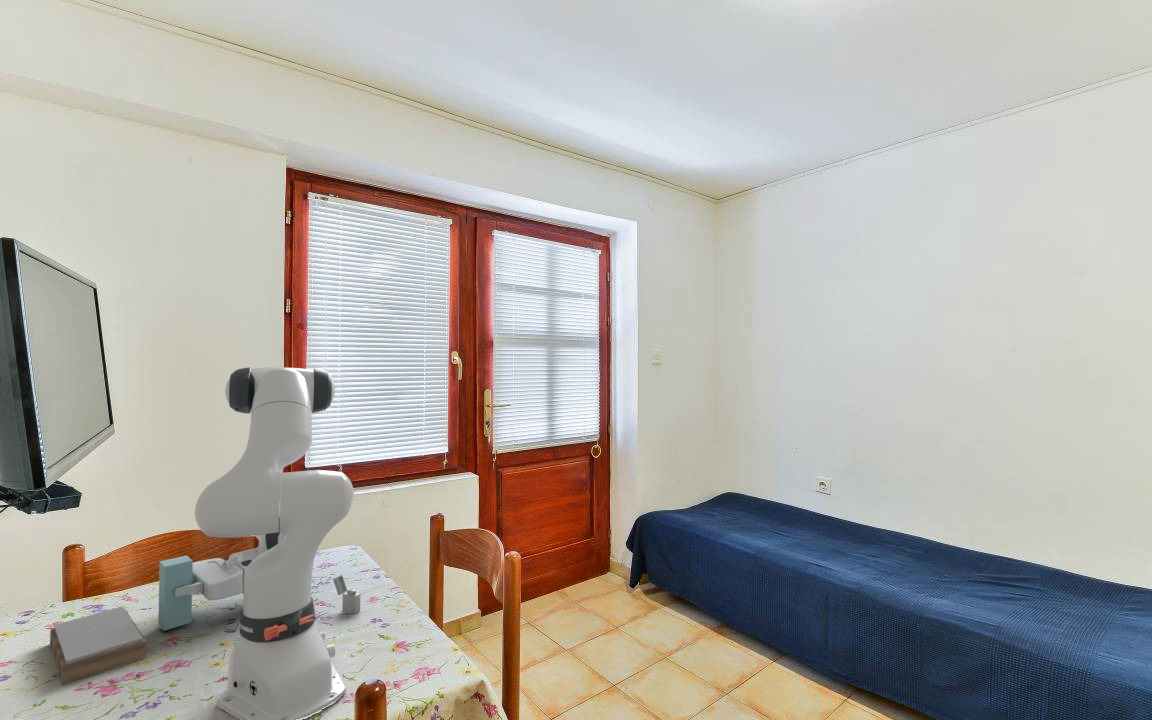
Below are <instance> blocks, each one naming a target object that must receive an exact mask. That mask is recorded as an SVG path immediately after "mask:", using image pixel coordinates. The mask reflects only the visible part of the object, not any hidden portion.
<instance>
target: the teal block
mask: <svg viewBox="0 0 1152 720" xmlns="http://www.w3.org/2000/svg"><path fill="white" fill-rule="evenodd" d="M193 561H194V560H193V559H191V558H190V557H189V556H188V555H183V556H178V557H174V558H170V559H164V560H161V561H159V569H158V570H159V571H158V572H159V574H158V575H159V576H158V577H159V578H158V579H159V580H158V618H157V619H158V623H157V624H158V626H159V627H160V628H161V629H162V630H163V632H164V631H168V630H171V629H174V628H177V627H180V626H185V625H187V624H190V623H192V611H193V607H192V606H193V600H192V599H193V594H191V595H182V596H179V597H176V596H175V595H174V588H175V587H179V586H182V585H184V586H187V585H192V568H193Z"/></svg>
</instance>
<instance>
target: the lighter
mask: <svg viewBox="0 0 1152 720" xmlns="http://www.w3.org/2000/svg"><path fill="white" fill-rule="evenodd" d="M332 582H333V584H334V586H335V590H336V593H337V595H338V596H340V595H342V605H341V606H342V609H341V610H342V613H348V614H352V615H353V614H354V615H357V614H359V612H361V593H360V592H357V589H356V588H348V589H347V585H346V582H345V579H344V576H343V575H338V576H336V577H334V578H333V580H332Z"/></svg>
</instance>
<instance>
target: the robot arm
mask: <svg viewBox="0 0 1152 720" xmlns="http://www.w3.org/2000/svg"><path fill="white" fill-rule="evenodd" d="M224 390H225V391H224V393H225V397H226V401H227V403H228V405H229V408H231V410H233V411H234V412H236V413H241V414H248V415H249V414H250V427H249V433H248V439H247V440H248V441H247V443H246V446H245V447H246V448H245V450H244V453H243V454H242V456H241V458H240V459H239V460H238V462H236V464H234V466H233V467H232V468H231V469H229V471H228V472H227V473H225V474H223V475H222V476H220V477H219V478H217V479H216V480H214V481H212V482H210V483H209V484H208V485H207V486H206V487H205V488H204V489H203V490H202V492H201V493H200V495H199V496H198V498H197V500H196V502H195V508H194V518H195V522H196V523H197V524H196V525H197V526H198V528H199V529H200V530H201V532H202V533H204V535H206V536H208V537H212V538H244V537H253V536H254V537H255V538H257V540H258V546H257V547H254V548H252V549H251V548H250V549H247V550H246V549H245V550H242V551H239V552H235V553H231V554H230V555H229V557H228V559H227V560H225V559H223V558H220V557H215V558H209V559H208V558H207V559H204V560H199V561H195V562H193V568H192V585H187V586H184V585H182V586H179V587H175V588H174V595H175V596H176V597H179V596H182V595H191V594H192V595H197V594H201V595H202V596H203V597H204V598H205V599H206V600H207V601H218V600H223V599H226V598H230V597H234V596H238V595H241V594H243V598H242V603H243V604H242V609H241V612H240V615H239V616H240V617H239V620H238V626H239V635H240V637H239V639H238V641H237V642H236V644H235V645H234V646H233V647H232V649H231V651H230V653H229V659H228V670H227V683H226V689H225V691H223V693H221V694H220V695H219V696H218V697H217V698H216V707H218V708H219V709H221V710H223V711H225V712H226V713H227V714H230V715H231V716H233V717H234V718H235V719H238V718H239V719H241V720H296V719H300V718H303V717H306V716H309V715H311V714H313V713H315V712H317V711H319V710H321V709H322V708H324V707H326V706H328V705H329V704H331V703H332V702H335V701H336V700H337V699H338V698H340V697H341V696H342V695H343V694H344V693H345V692H346V693H347V690H346V689H347V688H346V686H345V683H344V682H343V681H344V680H343V679H342V678H341V676H340V674H339V672H338V671H337V669H336V667H335V666H334V664H333V662H332V658H334V657H335V656H336V647H335V645H334V644H335V643H330V644H327V645H326V643H325V641H324V639H326V633H325V631H321V630H320V628H319V627H318V623H317V620H316V619H317V618H316V607H315V604H314V599H313V597H312V578H313V569H314V568H313V567H314V561H315V557H316V555H317V552H318V549H319V547H320V546H321V543H322V542H323V540H324V539H325V537H326V536H327V535H328V534H329V532H330V531H331V530H332V529H333V528H334V527H335V526H336V525H337V524H339V523H340V522H342V520H343V519H344V518H346V516H348V514H349V513H350V511H351V509H352V506H353V504H354V500H355V498H354V497H355V490H354V486H353V484H352V481H351V479H350V478H349V477H348V476H347V475H346V474H345V473H344V472H343V471H336V470H335V471H334V470H322V469H314V470H313V469H312V470H299V471H291V472H290V471H287V472H283V470H284V468H285V467H287V466H290V465H292V464H293V463H296V462H297V461H298V460H300V459H301V458H302V457H304V456H305V455H306V454H307V452H308V451H309V450H310V448H311V445H312V437H313V435H312V429H313V428H312V414H315V413H318V412H323V411H326V410H327V409H328V408H330V406H331V404H332V402H333V400H334V399H335V398H334V397H335V394H336V387H335V383H334V380H333V378H332V375H331V374H330V373H329V372H328V370H323V369H320V368H313V369H311V368H300V367H285V366H284V367H283V366H265V367H264V366H263V367H255V368H254V367H253V368H252V367H251V366H250V367H242V368H237V369H235V370H234V371H233V372H232V373H231V374H230V377H229V378H228V380H227V382H226V384H225V389H224ZM346 693H345V694H346ZM345 694H344V695H345ZM344 695H343V696H344ZM340 699H341V698H340ZM335 703H336V702H335ZM239 719H238V720H239Z"/></svg>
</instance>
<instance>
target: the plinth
mask: <svg viewBox="0 0 1152 720" xmlns="http://www.w3.org/2000/svg"><path fill="white" fill-rule="evenodd" d="M49 633H50V634H49V645H51V646H50V648H52V649H51V653H52V652H53V653H52V655H53V660H54V659H55V660H54V662H55V666H57V667H56V670H57V673H58V676H59V679H60V684H61V686H64V684H65V685H67V684H70V683H73V682H77V681H80V680H82V679H85V678H89V677H92V676H94V675H97V674H100V673H103V672H106V671H109V670H112V669H115V668H118V667H121V666H124V665H128V664H131V663H133V662H137V661H139V660H143V659H146V658H147V640H146V639H145V637H144V636H143V634H142V632H141V631H140V629H139V628H138V626H137V625H136V623H135V621H134V620H133V618H132V617H131V616H130V614H129V613H128V611H127V609H125V608H124V606H120V607H117V608H113V609H109V610H104V611H102V612H98V613H93V614H90V615H87V616H83V617H79V618H75V619H71V620H68V621H63V622H61V623H57V624H54V625H53V627H52V628H50V631H49Z"/></svg>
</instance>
